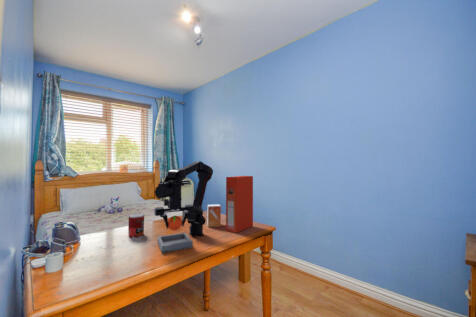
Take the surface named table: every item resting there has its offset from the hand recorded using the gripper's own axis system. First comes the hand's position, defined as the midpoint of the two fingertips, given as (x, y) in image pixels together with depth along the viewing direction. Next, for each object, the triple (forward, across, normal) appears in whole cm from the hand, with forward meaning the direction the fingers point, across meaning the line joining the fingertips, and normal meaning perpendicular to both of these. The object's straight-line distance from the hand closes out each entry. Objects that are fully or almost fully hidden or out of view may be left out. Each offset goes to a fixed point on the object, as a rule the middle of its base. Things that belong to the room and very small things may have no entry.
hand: (175, 227), depth 104 cm
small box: (+9, -29, -22) cm, 37 cm away
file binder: (+9, -41, -9) cm, 43 cm away
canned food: (+9, +16, -24) cm, 30 cm away
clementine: (+2, 0, 0) cm, 2 cm away
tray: (+8, 0, 0) cm, 9 cm away
